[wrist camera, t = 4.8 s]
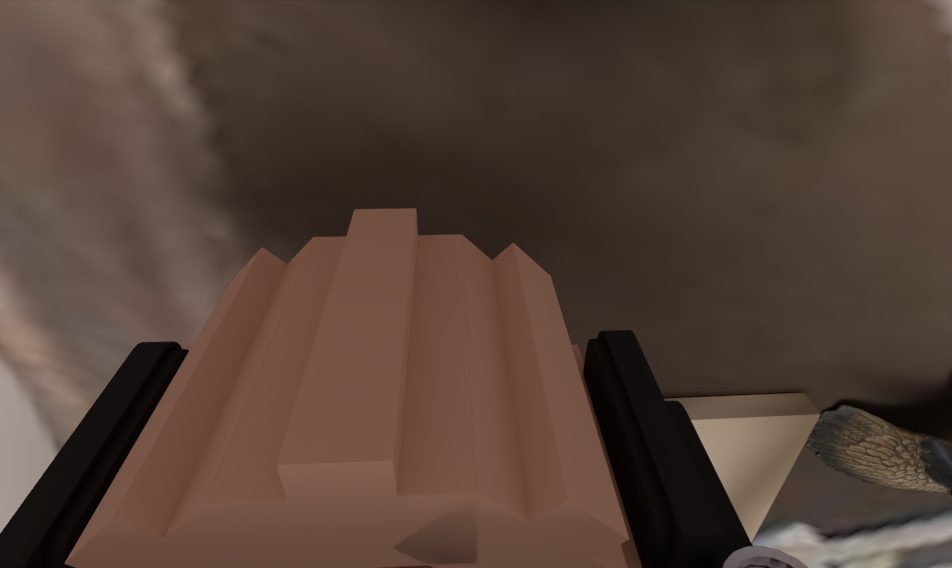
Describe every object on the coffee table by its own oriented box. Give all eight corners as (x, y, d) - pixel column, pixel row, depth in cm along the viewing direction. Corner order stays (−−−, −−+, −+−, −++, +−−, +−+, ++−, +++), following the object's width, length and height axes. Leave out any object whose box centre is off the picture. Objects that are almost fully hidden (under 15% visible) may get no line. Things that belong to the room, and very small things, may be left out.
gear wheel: (598, 205, 9) (728, 448, 5) (558, 474, 13) (613, 735, 9) (165, 212, 9) (-86, 477, 5) (259, 485, 13) (169, 762, 8)
